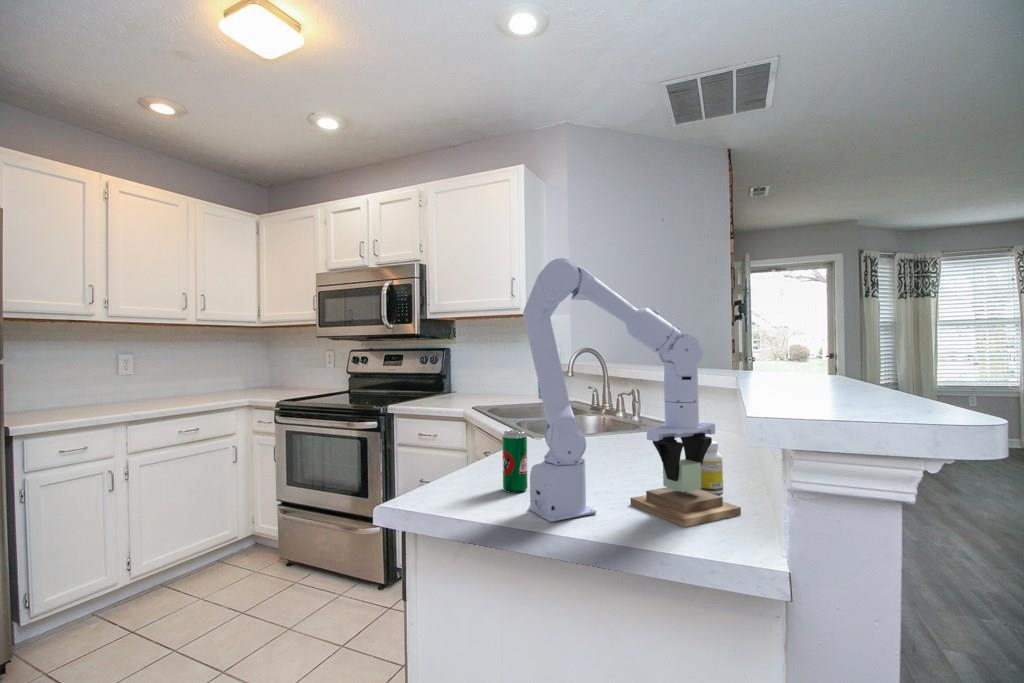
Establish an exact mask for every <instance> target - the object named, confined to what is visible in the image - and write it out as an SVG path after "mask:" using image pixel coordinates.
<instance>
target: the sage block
mask: <svg viewBox="0 0 1024 683" xmlns="http://www.w3.org/2000/svg"><path fill="white" fill-rule="evenodd" d="M662 474H663V475H662V478H663V480H662V481H663V482H662V484H663V485H662V486H663V487H664V488H666V487H668V488H671V489H674V490H677V491H680V492H686V491H692V490H697V489H701V463H699V462H695V461H691V460H687V459H686V458H684V457H683V458H682V457H680V463H679V477H678V481H673V480H669V479H667V477H666V473H665V469H664V466H663V465H662Z"/></svg>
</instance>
